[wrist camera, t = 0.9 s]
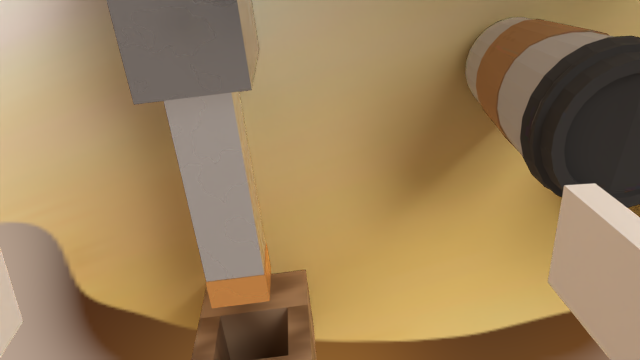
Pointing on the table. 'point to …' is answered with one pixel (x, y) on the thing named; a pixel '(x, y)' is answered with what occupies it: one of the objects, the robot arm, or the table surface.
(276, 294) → the socket
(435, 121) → the table surface
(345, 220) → the table surface
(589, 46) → the coffee cup
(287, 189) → the table surface
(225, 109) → the orange-tipped grey stick
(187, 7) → the grey rectangular block
